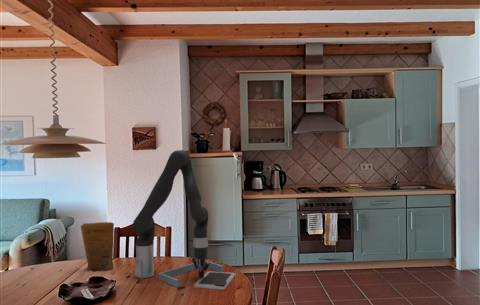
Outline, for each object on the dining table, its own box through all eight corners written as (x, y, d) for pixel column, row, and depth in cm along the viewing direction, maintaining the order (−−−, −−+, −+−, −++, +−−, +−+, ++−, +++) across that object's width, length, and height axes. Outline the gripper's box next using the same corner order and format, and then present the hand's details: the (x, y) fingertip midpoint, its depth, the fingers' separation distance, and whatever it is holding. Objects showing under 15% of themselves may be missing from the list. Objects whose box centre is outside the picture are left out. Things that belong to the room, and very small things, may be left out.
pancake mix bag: (112, 272, 220) (111, 223, 219) (81, 271, 222) (79, 223, 221) (117, 268, 226) (116, 220, 226) (87, 267, 228) (85, 220, 228)
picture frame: (224, 290, 189) (235, 276, 209) (224, 285, 189) (235, 271, 209) (194, 288, 193) (208, 274, 213) (194, 282, 193) (208, 269, 213)
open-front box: (176, 287, 193) (176, 280, 193) (158, 279, 205) (158, 273, 205) (223, 272, 215) (223, 265, 215) (204, 265, 227) (204, 259, 227)
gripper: (187, 244, 206) (188, 276, 206) (203, 249, 197) (203, 282, 197) (198, 241, 211) (199, 273, 212) (214, 246, 202) (214, 278, 202)
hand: (201, 277), depth 204 cm, fingers closed
